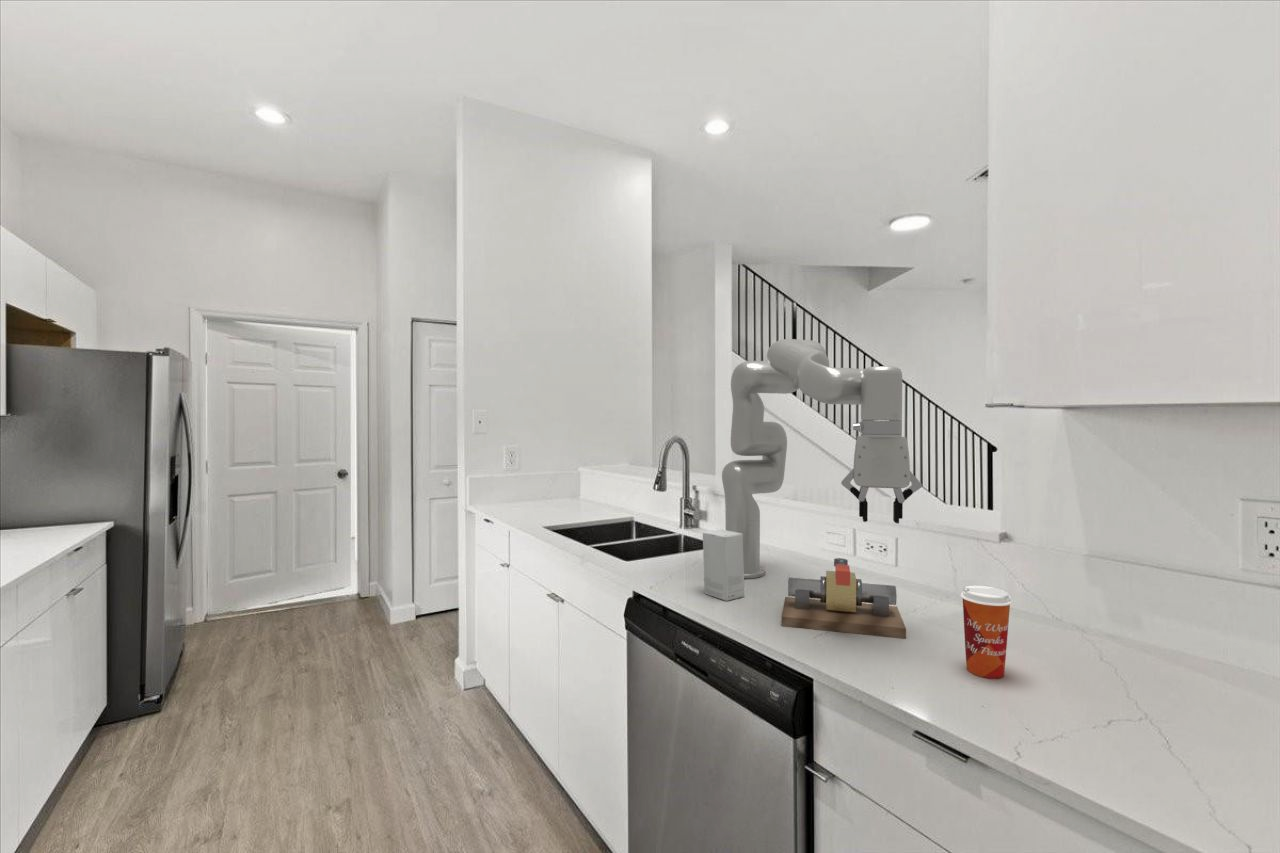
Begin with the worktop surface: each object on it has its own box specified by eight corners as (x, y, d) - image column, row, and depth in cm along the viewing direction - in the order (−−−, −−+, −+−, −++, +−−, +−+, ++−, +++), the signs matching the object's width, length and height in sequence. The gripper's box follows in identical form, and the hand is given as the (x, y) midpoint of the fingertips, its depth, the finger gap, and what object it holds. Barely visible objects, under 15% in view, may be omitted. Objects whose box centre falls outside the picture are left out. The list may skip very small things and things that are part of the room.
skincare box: (745, 597, 143) (745, 533, 143) (724, 602, 140) (725, 536, 139) (721, 589, 150) (721, 528, 150) (701, 593, 147) (701, 530, 146)
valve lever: (833, 567, 130) (833, 554, 130) (847, 568, 129) (847, 555, 129) (835, 584, 117) (835, 570, 117) (850, 586, 116) (850, 571, 116)
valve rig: (781, 625, 124) (781, 573, 124) (785, 605, 137) (785, 558, 137) (905, 638, 117) (906, 583, 117) (896, 615, 130) (897, 565, 130)
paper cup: (963, 677, 100) (964, 595, 99) (956, 659, 107) (957, 582, 106) (1017, 684, 97) (1018, 600, 97) (1006, 666, 104) (1007, 587, 104)
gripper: (836, 429, 115) (835, 522, 115) (932, 430, 110) (931, 527, 110) (835, 428, 122) (834, 516, 123) (925, 429, 117) (924, 520, 118)
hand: (880, 520), depth 116 cm, fingers open, 5 cm apart
